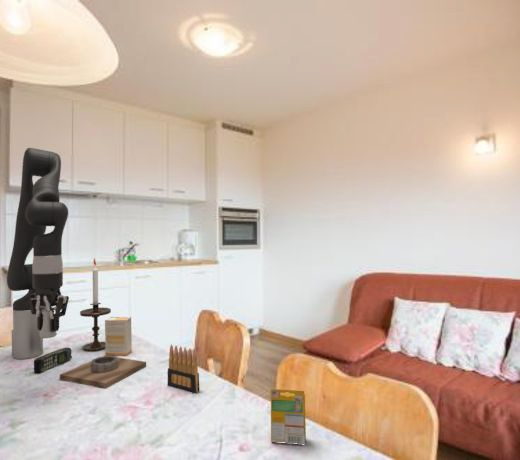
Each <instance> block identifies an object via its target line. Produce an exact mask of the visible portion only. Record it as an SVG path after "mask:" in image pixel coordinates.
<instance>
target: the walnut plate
mask: <svg viewBox="0 0 520 460" xmlns="http://www.w3.org/2000/svg"><path fill="white" fill-rule="evenodd" d="M103 356H106V354H105V355H102V356H101V357H103ZM118 358H119V366H118V368H117V369H115V370H113V371H110V372H105V373H95V372H92V371H91V361H92V360H91V361H88V362H86V363H84V364H81V365H78V366H77V367H74V368H72V369H70V370H67V371H65V372H63V373H60V374H59V380H61V381H66V382H70V383H76V384H81V385H86V386H91V387H97V388H101V389H107V388H109V387H111V386H112V385H114V384H116V383H119V382H120V381H121V380H124V379H125V378H128V377H129V376H132V375H134V373H137V372H138V371H140V370H142V369H144V368H146V367H147V361H145V360H144V361H143V360H137V359H132V358H131V359H130V358H122V357H118Z"/></svg>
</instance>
